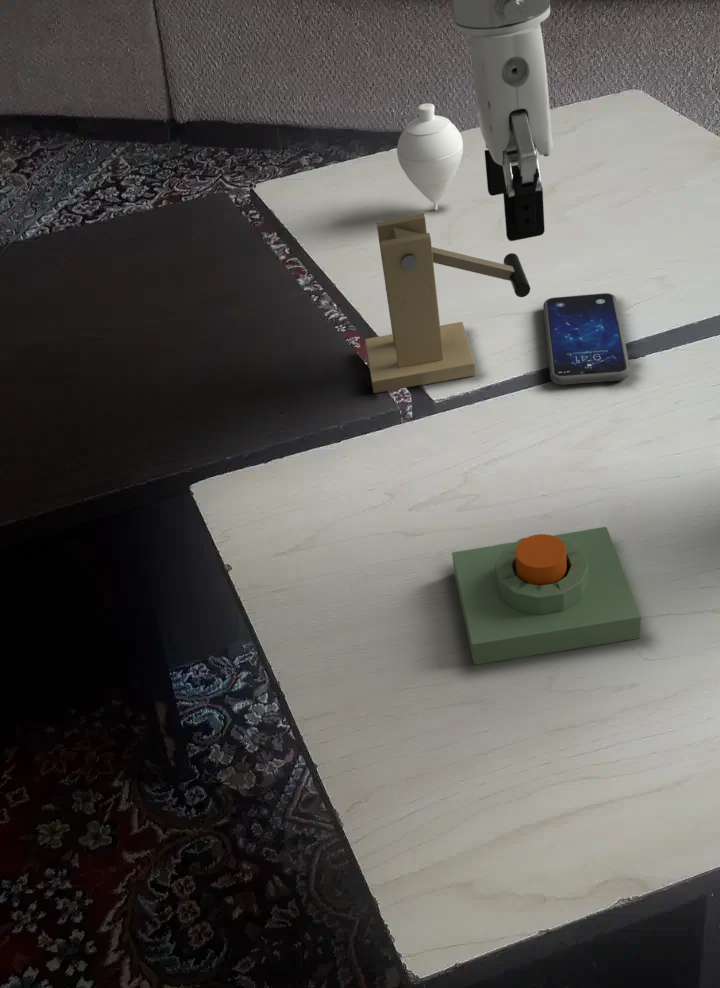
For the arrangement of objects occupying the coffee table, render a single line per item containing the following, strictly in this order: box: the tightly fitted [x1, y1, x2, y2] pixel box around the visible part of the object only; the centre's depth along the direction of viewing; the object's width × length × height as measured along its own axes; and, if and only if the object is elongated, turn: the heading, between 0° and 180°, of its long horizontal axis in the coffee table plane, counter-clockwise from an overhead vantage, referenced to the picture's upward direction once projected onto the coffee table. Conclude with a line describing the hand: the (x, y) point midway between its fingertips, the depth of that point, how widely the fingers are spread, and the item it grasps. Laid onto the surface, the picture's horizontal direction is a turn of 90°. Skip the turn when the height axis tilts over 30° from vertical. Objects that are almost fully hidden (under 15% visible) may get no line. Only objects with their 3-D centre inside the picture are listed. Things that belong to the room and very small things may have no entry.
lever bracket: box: [364, 212, 477, 394], centre depth 100 cm, size 10×8×14 cm
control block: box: [451, 526, 642, 666], centre depth 78 cm, size 12×10×4 cm
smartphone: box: [542, 292, 631, 386], centre depth 103 cm, size 7×1×15 cm
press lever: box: [390, 228, 531, 298], centre depth 98 cm, size 13×6×2 cm, turn 95°
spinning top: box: [396, 102, 464, 211], centre depth 124 cm, size 8×8×12 cm
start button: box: [515, 533, 567, 585], centre depth 77 cm, size 4×4×2 cm
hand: (515, 213), depth 95 cm, fingers open, 9 cm apart
